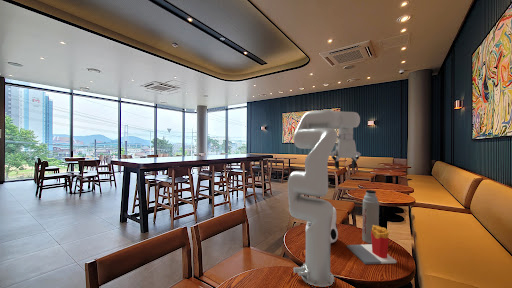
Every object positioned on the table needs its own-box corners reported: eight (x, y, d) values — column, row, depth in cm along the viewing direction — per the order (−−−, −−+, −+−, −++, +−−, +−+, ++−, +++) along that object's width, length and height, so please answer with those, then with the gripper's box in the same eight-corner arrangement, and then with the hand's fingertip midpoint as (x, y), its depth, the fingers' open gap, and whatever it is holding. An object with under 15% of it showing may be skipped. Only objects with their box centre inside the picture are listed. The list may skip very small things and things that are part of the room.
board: (365, 264, 94) (365, 262, 94) (346, 246, 110) (346, 245, 110) (396, 263, 96) (396, 260, 96) (373, 246, 112) (373, 244, 112)
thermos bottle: (364, 243, 115) (365, 191, 115) (360, 237, 122) (361, 188, 122) (380, 244, 113) (381, 192, 113) (375, 238, 121) (376, 189, 121)
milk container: (305, 245, 112) (305, 211, 112) (305, 231, 129) (305, 202, 129) (340, 249, 108) (340, 214, 108) (335, 235, 125) (335, 204, 125)
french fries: (368, 250, 105) (369, 224, 105) (376, 249, 106) (376, 223, 106) (383, 260, 96) (384, 231, 96) (391, 259, 97) (391, 230, 97)
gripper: (333, 137, 114) (333, 169, 114) (364, 137, 115) (364, 168, 115) (327, 137, 121) (327, 167, 121) (356, 138, 123) (356, 167, 123)
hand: (345, 168), depth 118 cm, fingers open, 9 cm apart
